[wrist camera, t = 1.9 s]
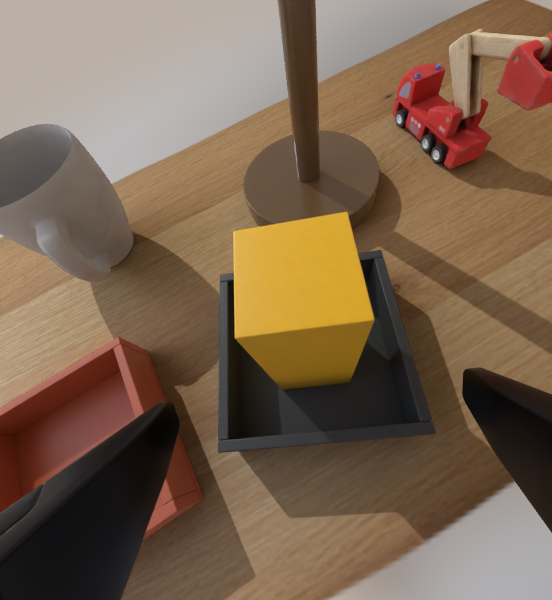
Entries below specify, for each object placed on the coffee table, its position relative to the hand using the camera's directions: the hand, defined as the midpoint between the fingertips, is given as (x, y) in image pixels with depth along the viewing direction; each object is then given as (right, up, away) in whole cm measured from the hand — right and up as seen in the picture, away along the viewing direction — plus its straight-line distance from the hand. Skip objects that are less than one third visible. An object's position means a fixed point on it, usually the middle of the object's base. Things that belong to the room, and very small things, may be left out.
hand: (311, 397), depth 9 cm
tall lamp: (+2, +13, +18) cm, 23 cm away
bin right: (+1, -1, +12) cm, 12 cm away
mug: (-17, +7, +19) cm, 26 cm away
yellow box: (+1, -1, +11) cm, 11 cm away
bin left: (-13, -8, +11) cm, 19 cm away
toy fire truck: (+14, +17, +18) cm, 29 cm away
